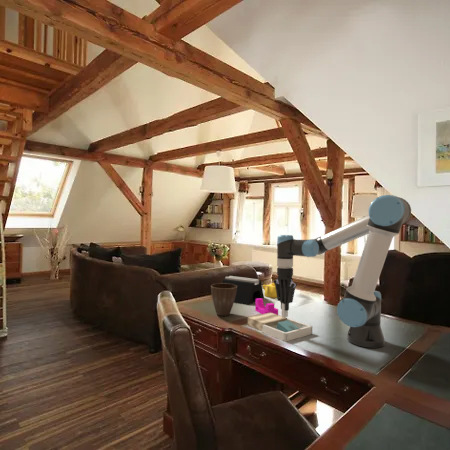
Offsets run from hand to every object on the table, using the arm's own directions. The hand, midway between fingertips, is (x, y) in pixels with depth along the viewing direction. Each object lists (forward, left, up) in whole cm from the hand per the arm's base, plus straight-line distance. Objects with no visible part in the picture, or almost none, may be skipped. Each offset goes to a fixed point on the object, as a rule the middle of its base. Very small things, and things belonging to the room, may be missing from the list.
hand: (284, 316), depth 155 cm
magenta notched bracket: (+27, -15, -8) cm, 32 cm away
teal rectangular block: (-2, 0, -6) cm, 6 cm away
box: (-2, 0, -7) cm, 7 cm away
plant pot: (+40, +6, -8) cm, 42 cm away
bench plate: (+11, 0, -7) cm, 14 cm away
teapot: (+53, -46, -8) cm, 71 cm away
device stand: (+60, -24, -8) cm, 66 cm away
